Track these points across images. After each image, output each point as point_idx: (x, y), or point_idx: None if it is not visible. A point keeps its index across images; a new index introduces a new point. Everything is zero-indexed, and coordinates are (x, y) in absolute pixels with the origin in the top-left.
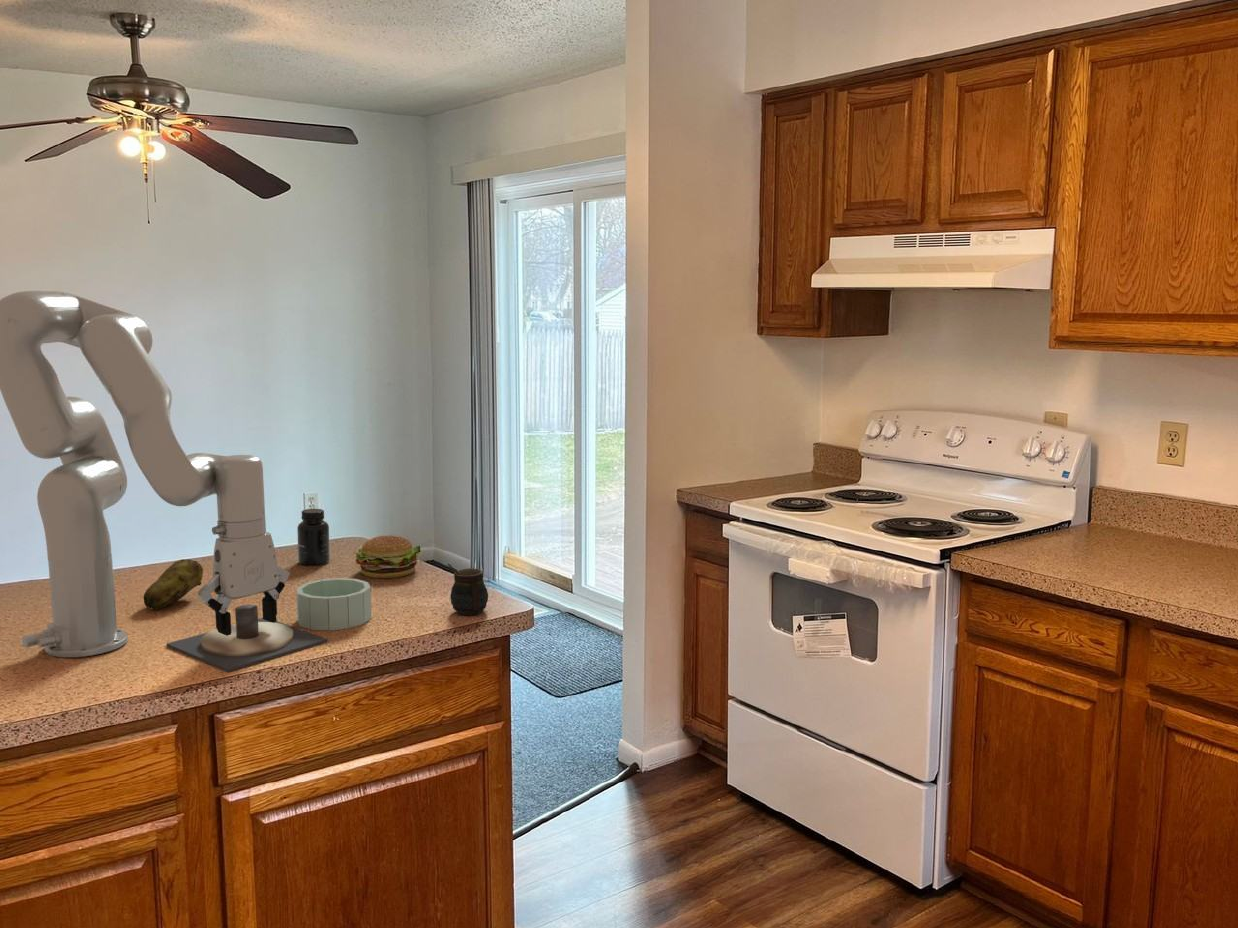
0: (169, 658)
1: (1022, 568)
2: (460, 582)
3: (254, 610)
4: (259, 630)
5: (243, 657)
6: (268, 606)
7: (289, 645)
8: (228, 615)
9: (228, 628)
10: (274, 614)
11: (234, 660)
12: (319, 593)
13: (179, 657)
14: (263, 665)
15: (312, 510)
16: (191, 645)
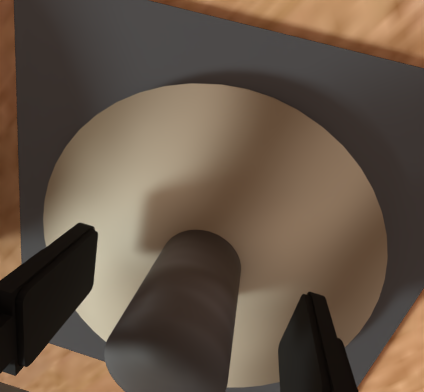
0: (419, 374)
1: None
2: None
3: (163, 312)
4: (136, 263)
5: (371, 147)
6: (49, 298)
7: (164, 71)
8: (341, 381)
9: (327, 316)
10: (66, 241)
11: (419, 157)
12: None
13: (401, 356)
14: (401, 10)
15: None
16: None
